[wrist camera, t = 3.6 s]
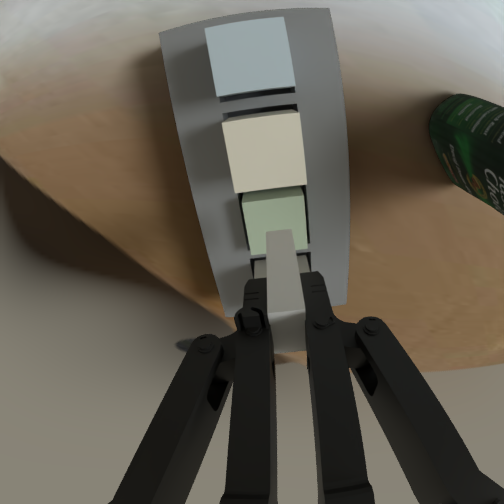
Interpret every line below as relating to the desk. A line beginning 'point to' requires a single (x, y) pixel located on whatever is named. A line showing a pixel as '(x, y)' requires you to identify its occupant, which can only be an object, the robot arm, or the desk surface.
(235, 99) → the keypad
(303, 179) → the key cream
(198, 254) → the desk surface
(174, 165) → the desk surface
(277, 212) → the key sage
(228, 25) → the key blue
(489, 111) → the coffee jar
